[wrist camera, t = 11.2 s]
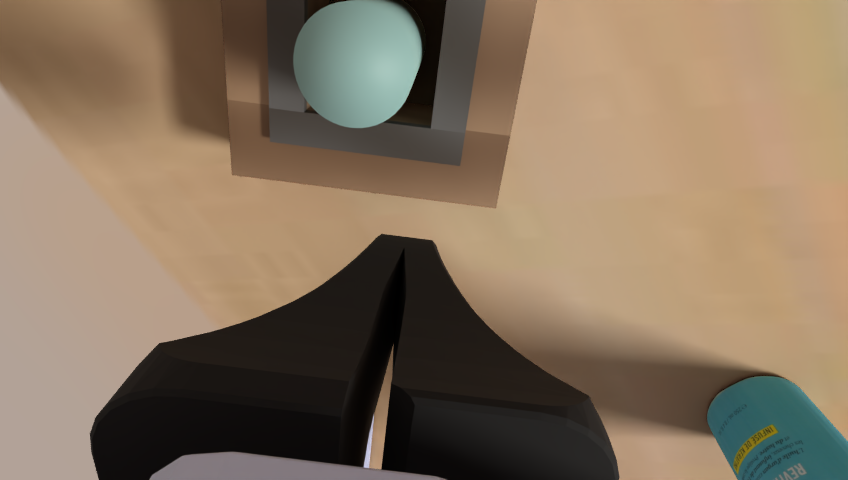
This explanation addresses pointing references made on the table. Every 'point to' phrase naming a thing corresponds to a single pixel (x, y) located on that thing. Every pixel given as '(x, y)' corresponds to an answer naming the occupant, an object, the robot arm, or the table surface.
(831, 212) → the table surface
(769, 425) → the tube
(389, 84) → the peg
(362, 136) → the socket
